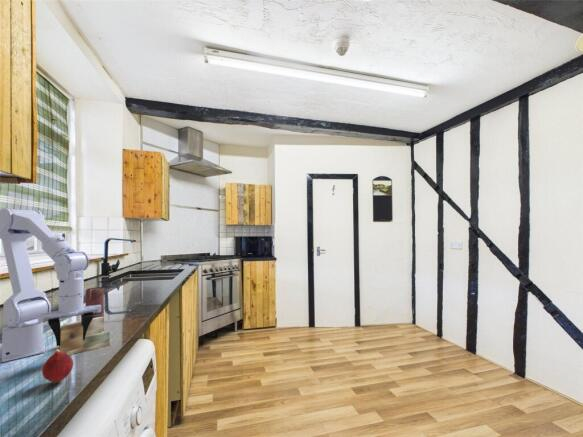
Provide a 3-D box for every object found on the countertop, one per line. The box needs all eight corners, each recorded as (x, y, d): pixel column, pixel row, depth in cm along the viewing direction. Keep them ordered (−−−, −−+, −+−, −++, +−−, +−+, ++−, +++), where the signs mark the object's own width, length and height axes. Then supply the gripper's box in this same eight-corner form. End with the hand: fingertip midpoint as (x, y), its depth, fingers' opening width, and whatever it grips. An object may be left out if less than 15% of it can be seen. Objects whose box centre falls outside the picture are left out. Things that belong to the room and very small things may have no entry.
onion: (78, 376, 74) (78, 344, 74) (61, 388, 68) (61, 354, 69) (54, 377, 74) (55, 345, 74) (35, 389, 68) (36, 354, 68)
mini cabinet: (60, 353, 80) (61, 331, 80) (58, 347, 84) (59, 326, 85) (83, 348, 84) (83, 326, 84) (80, 342, 88) (80, 322, 88)
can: (82, 327, 112) (82, 290, 112) (88, 322, 118) (89, 287, 118) (100, 325, 113) (100, 289, 114) (106, 320, 120) (106, 286, 120)
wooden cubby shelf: (66, 355, 87) (67, 331, 87) (63, 345, 94) (63, 323, 94) (109, 344, 94) (109, 322, 94) (103, 336, 101) (103, 316, 102)
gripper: (39, 301, 77) (38, 353, 76) (103, 292, 87) (103, 339, 86) (37, 297, 82) (37, 346, 82) (98, 289, 92) (98, 333, 91)
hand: (70, 342), depth 84 cm, fingers closed on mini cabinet, 5 cm apart
